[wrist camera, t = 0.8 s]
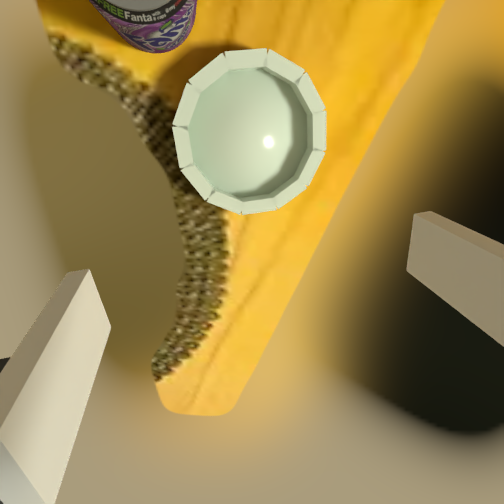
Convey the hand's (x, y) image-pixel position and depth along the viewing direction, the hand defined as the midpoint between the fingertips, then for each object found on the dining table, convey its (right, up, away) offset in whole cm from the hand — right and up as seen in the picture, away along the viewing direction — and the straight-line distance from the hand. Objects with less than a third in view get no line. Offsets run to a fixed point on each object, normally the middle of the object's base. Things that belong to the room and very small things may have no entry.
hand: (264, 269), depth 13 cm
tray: (-1, +12, +19) cm, 22 cm away
